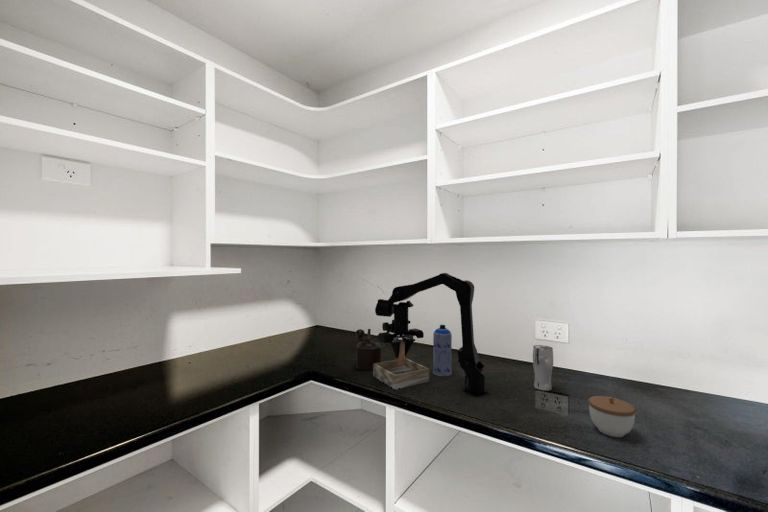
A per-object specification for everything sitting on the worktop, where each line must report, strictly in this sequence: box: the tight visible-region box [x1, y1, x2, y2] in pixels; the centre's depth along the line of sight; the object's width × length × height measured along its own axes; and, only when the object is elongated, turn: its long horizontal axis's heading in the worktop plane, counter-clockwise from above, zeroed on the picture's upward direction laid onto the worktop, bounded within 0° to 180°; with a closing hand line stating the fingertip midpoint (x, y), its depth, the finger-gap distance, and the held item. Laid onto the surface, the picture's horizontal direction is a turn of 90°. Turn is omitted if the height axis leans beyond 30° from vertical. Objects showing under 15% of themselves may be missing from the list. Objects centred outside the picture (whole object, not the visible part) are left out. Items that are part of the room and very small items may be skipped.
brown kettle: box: [354, 328, 382, 371], centre depth 145 cm, size 16×11×18 cm
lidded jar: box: [588, 395, 636, 438], centre depth 93 cm, size 11×11×9 cm
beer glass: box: [532, 344, 554, 392], centre depth 124 cm, size 7×7×15 cm
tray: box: [372, 357, 430, 390], centre depth 132 cm, size 16×16×5 cm
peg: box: [396, 340, 406, 366], centre depth 132 cm, size 3×3×9 cm
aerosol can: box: [432, 324, 453, 377], centre depth 139 cm, size 8×8×20 cm
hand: (400, 357), depth 132 cm, fingers closed on peg, 3 cm apart
